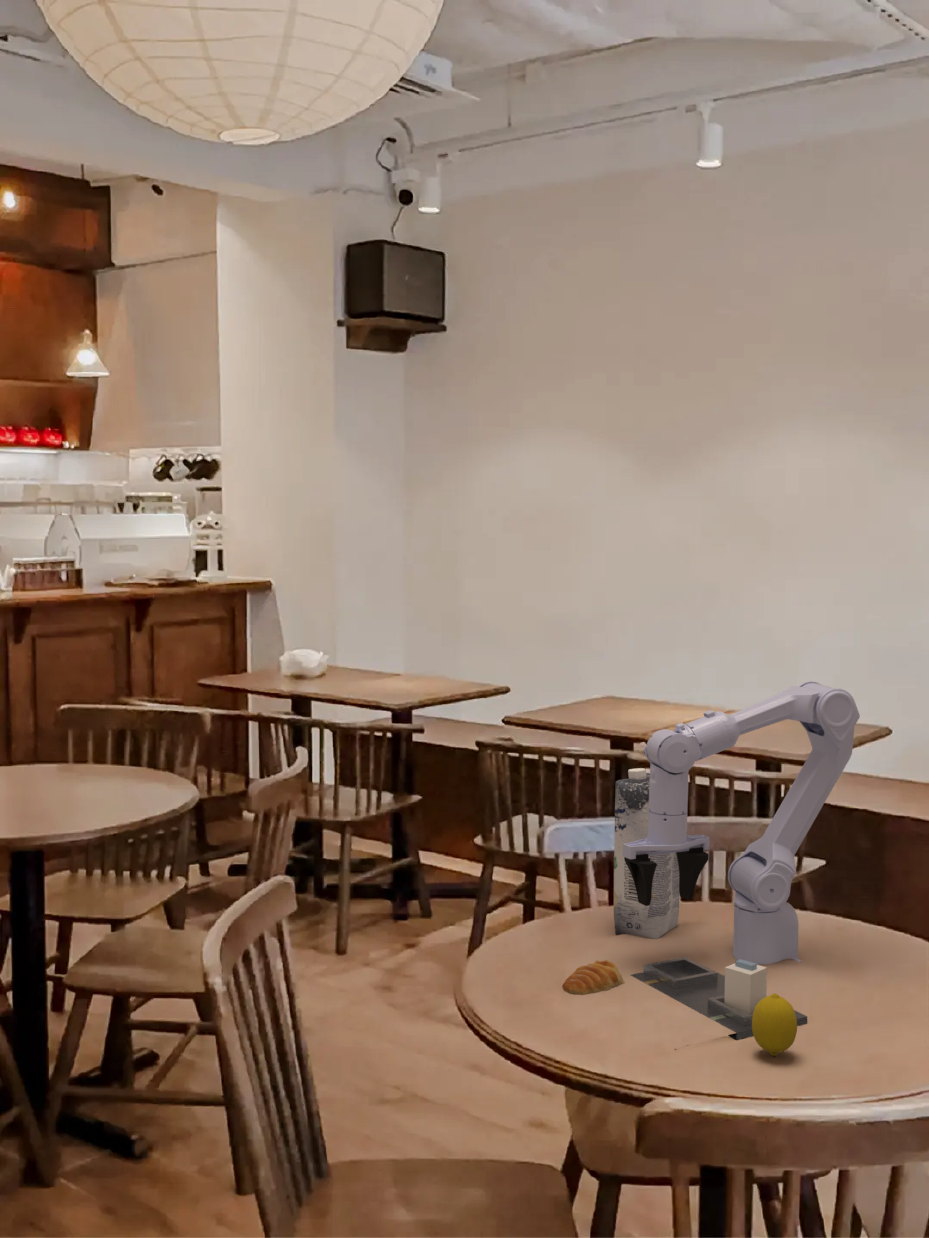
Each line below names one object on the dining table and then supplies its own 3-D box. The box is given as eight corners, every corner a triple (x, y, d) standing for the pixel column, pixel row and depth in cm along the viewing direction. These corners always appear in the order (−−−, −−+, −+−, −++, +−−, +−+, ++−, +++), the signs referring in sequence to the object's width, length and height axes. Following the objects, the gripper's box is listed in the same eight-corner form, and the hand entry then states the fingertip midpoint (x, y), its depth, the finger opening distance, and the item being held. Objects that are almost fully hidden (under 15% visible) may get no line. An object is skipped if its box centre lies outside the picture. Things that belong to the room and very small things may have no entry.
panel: (696, 968, 195) (696, 954, 195) (807, 1023, 174) (807, 1007, 174) (630, 981, 189) (630, 966, 189) (736, 1039, 168) (736, 1023, 168)
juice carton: (684, 929, 213) (687, 767, 211) (658, 947, 205) (661, 778, 202) (634, 920, 218) (636, 762, 216) (607, 937, 209) (609, 772, 207)
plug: (740, 1002, 178) (741, 955, 178) (766, 1010, 176) (767, 962, 175) (724, 1010, 176) (725, 962, 175) (749, 1018, 173) (750, 969, 172)
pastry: (587, 1007, 180) (587, 980, 180) (550, 995, 184) (550, 969, 184) (628, 990, 187) (628, 964, 186) (591, 978, 191) (591, 953, 191)
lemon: (745, 1047, 166) (746, 986, 165) (787, 1046, 166) (789, 985, 166) (759, 1065, 160) (760, 1002, 160) (802, 1063, 161) (804, 1001, 160)
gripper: (690, 801, 200) (687, 888, 201) (612, 809, 193) (609, 899, 194) (719, 811, 194) (716, 900, 195) (639, 819, 187) (637, 912, 188)
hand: (665, 900), depth 194 cm, fingers open, 7 cm apart
